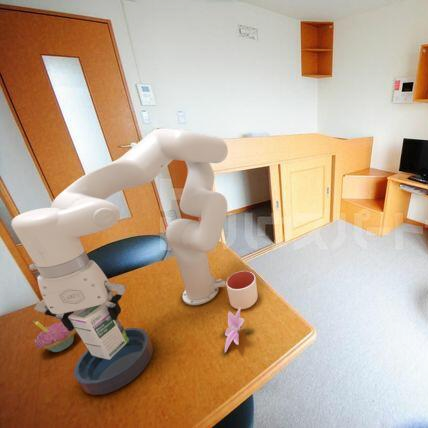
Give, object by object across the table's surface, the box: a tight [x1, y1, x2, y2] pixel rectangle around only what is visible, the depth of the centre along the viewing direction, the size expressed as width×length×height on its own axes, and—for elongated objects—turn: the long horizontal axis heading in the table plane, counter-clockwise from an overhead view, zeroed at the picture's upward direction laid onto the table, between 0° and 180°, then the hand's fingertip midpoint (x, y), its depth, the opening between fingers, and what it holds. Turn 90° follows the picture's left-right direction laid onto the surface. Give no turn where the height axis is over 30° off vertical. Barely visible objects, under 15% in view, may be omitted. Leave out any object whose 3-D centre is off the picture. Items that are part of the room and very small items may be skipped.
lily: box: [224, 307, 251, 354], centre depth 74 cm, size 12×12×10 cm
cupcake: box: [32, 320, 77, 353], centre depth 70 cm, size 9×8×12 cm
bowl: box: [73, 327, 154, 396], centre depth 66 cm, size 16×16×6 cm
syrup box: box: [68, 304, 129, 360], centre depth 60 cm, size 6×6×14 cm
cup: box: [225, 270, 259, 310], centre depth 87 cm, size 10×10×10 cm
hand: (95, 320), depth 59 cm, fingers closed on syrup box, 7 cm apart
